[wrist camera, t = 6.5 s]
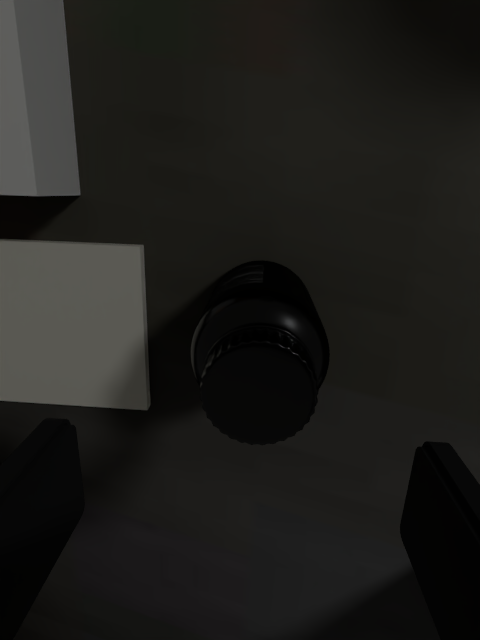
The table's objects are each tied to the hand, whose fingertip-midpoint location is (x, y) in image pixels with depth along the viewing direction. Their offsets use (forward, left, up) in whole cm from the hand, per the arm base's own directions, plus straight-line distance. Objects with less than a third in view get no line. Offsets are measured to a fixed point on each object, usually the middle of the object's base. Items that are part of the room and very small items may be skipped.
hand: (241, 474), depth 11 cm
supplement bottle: (0, 0, -17) cm, 17 cm away
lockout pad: (-2, +14, -17) cm, 22 cm away
